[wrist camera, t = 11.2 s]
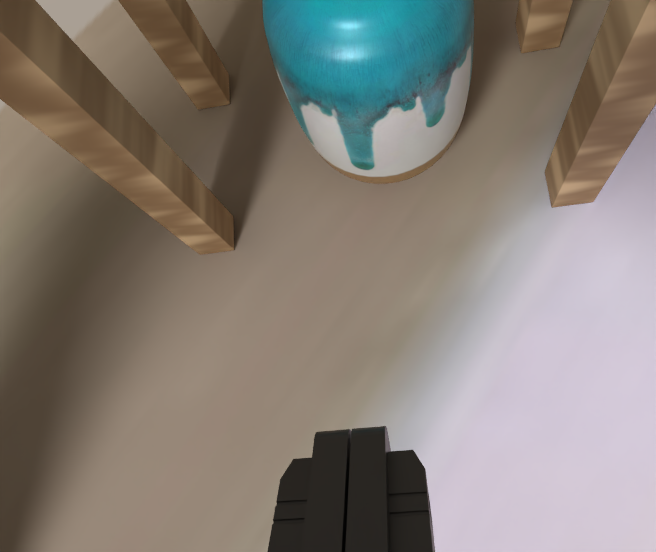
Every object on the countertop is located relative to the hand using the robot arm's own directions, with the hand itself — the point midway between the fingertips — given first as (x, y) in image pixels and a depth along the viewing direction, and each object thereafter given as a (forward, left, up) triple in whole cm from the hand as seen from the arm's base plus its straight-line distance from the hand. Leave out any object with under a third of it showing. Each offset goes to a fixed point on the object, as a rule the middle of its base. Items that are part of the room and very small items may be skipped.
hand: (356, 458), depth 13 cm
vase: (+1, +21, -24) cm, 31 cm away
